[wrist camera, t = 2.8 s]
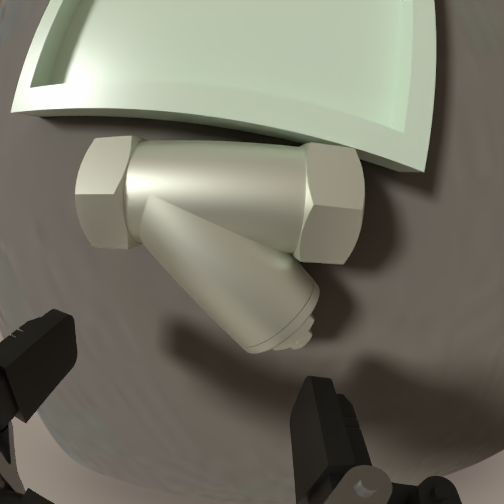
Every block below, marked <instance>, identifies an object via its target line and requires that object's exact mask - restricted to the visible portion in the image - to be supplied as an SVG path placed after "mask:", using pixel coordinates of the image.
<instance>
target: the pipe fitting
mask: <svg viewBox="0 0 504 504" xmlns="http://www.w3.org/2000/svg"><path fill="white" fill-rule="evenodd" d="M75 203H76V210H77V214H78V218H79V221H80V224H81V227H82V229H83V231H84V233H85V235H86V237H87V239H88V241H89V242H90V244H91V245H92V247H103V248H116V249H130V248H133V247H136V246H139V245H141V244H143V245H144V246H145V247H146V248H147V249H148V250H149V252H150V253H151V254H152V255H153V256H154V257H155V258H156V259H157V261H158V262H159V263H160V264H161V265H162V266H163V267H164V268H165V269H166V270H167V272H168V273H169V274H170V275H171V276H172V277H173V278H174V279H175V280H176V281H177V282H178V283H179V284H180V286H181V287H182V288H183V289H184V290H185V291H186V292H187V293H188V294H189V295H190V296H191V297H192V298H193V299H194V300H195V301H196V302H197V303H198V304H199V305H200V306H201V307H202V308H203V309H204V310H205V312H206V313H207V314H208V315H209V316H210V317H211V318H212V319H213V320H214V321H215V322H216V323H217V324H218V325H219V326H220V327H221V328H222V329H223V330H225V331H226V332H227V333H228V334H229V335H230V336H231V337H232V338H233V339H234V340H235V341H236V342H237V343H238V344H239V345H240V346H241V347H242V348H243V349H244V350H245V351H247V352H248V353H254V354H256V353H262V352H265V351H268V350H270V349H273V350H274V351H275V350H282V349H286V348H289V347H291V348H292V349H299V348H301V347H303V346H304V345H306V344H307V343H308V341H309V340H310V339H311V337H312V332H311V330H310V328H311V326H312V325H313V323H314V317H313V315H312V312H313V310H314V308H315V306H316V304H317V302H318V299H319V294H320V290H319V286H318V285H317V283H316V282H315V281H314V280H313V279H312V277H311V276H310V275H309V274H308V273H307V271H306V270H305V269H304V268H303V267H302V265H301V264H300V263H299V262H298V261H297V260H299V261H300V262H313V263H328V264H344V263H345V262H346V260H347V259H348V257H349V256H350V254H351V253H352V251H353V249H354V247H355V245H356V242H357V240H358V237H359V234H360V230H361V226H362V221H363V215H364V206H365V183H364V175H363V170H362V166H361V163H360V160H359V157H358V155H357V152H356V150H355V149H354V148H348V147H341V146H335V145H328V144H320V143H313V142H310V143H306V144H303V145H301V146H300V147H295V146H286V145H275V144H263V143H249V142H231V141H203V140H158V141H149V140H146V139H143V138H140V137H135V136H119V137H106V138H95V139H94V141H93V142H92V144H91V146H90V147H89V149H88V151H87V153H86V155H85V157H84V159H83V161H82V163H81V166H80V169H79V173H78V177H77V181H76V188H75ZM296 259H297V260H296Z"/></svg>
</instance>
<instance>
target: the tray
mask: <svg viewBox="0 0 504 504" xmlns="http://www.w3.org/2000/svg"><path fill="white" fill-rule="evenodd" d="M435 77H436V20H435V5H434V0H51V1H50V3H49V5H48V7H47V9H46V11H45V13H44V15H43V17H42V20H41V22H40V24H39V26H38V29H37V31H36V34H35V36H34V38H33V41H32V44H31V46H30V49H29V52H28V54H27V57H26V60H25V63H24V66H23V69H22V72H21V76H20V79H19V82H18V86H17V89H16V93H15V97H14V101H13V105H12V110H11V113H17V114H24V115H30V116H36V117H47V116H112V117H132V118H146V119H158V120H168V121H178V122H186V123H194V124H202V125H209V126H216V127H222V128H228V129H234V130H240V131H246V132H251V133H256V134H262V135H266V136H271V137H276V138H281V139H285V140H290V141H294V142H298V143H302V144H306V143H310V142H313V143H320V144H328V145H335V146H341V147H348V148H354V149H355V150H356V152H357V155H358V157H359V159H361V160H364V161H367V162H371V163H374V164H377V165H380V166H383V167H386V168H389V169H392V170H395V171H398V172H424V170H425V165H426V159H427V153H428V147H429V140H430V133H431V125H432V116H433V106H434V94H435Z"/></svg>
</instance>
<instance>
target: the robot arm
mask: <svg viewBox="0 0 504 504" xmlns="http://www.w3.org/2000/svg"><path fill="white" fill-rule="evenodd" d="M76 359H77V344H76V335H75V323H74V318H73V317H72V316H71V315H69V314H66V313H64V312H61V311H59V310H56V309H52V310H50V311H49V312H48V313H46V314H45V315H44V316H42V317H39V318H36V319H33V320H31V321H28V322H26V323H25V324H24V325H22V326H21V327H20V328H19V329H18V330H16V331H14V332H13V333H12V334H11V336H10V335H9V336H8V337H7V338H5V339H4V340H3V341H1V342H0V504H54V503H52V502H51V501H49V500H47V499H45V498H44V497H42V496H40V495H39V494H37V493H36V492H34V491H32V490H31V489H29V488H28V489H27V491H26V492H25V489H24V487H23V484H22V482H21V480H20V477H19V475H18V472H17V466H16V459H15V449H14V438H13V426H12V422H11V420H12V419H13V417H14V416H15V417H17V418H18V419H20V420H21V421H23V422H25V423H27V421H28V420H29V419H30V418H31V416H32V415H33V414H34V413H35V412H36V410H37V409H38V408H39V407H40V405H41V404H42V403H43V402H44V401H45V399H46V398H47V397H48V396H49V395H50V393H51V392H52V391H53V390H54V389H55V387H56V386H57V385H58V384H59V383H60V382H61V380H62V379H63V378H64V377H65V376H66V375H67V373H68V372H69V371H70V370H71V369H72V368H73V366H74V365H75V362H76ZM290 431H291V443H292V454H293V467H294V479H295V493H296V504H462V503H461V500H460V498H459V495H458V492H457V490H456V488H455V486H454V485H453V483H452V482H451V481H449V480H448V479H446V478H444V477H441V476H431V477H428V478H426V479H425V480H424V481H423V482H422V483H421V484H419V485H418V486H413V485H405V484H398V483H393V482H391V480H390V478H389V477H388V475H387V474H386V473H385V472H383V471H382V470H381V469H379V468H376V467H374V466H372V464H371V460H370V457H369V454H368V451H367V448H366V445H365V442H364V439H363V436H362V433H361V430H360V429H359V424H358V421H357V419H356V415H355V412H354V409H353V406H352V404H351V403H350V402H349V401H348V400H347V399H346V397H345V396H344V395H343V394H336V392H335V389H334V386H333V382H332V380H331V379H330V378H323V377H315V376H307V377H306V379H305V381H304V383H303V385H302V388H301V390H300V393H299V395H298V397H297V400H296V402H295V404H294V406H293V409H292V412H291V417H290Z"/></svg>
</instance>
